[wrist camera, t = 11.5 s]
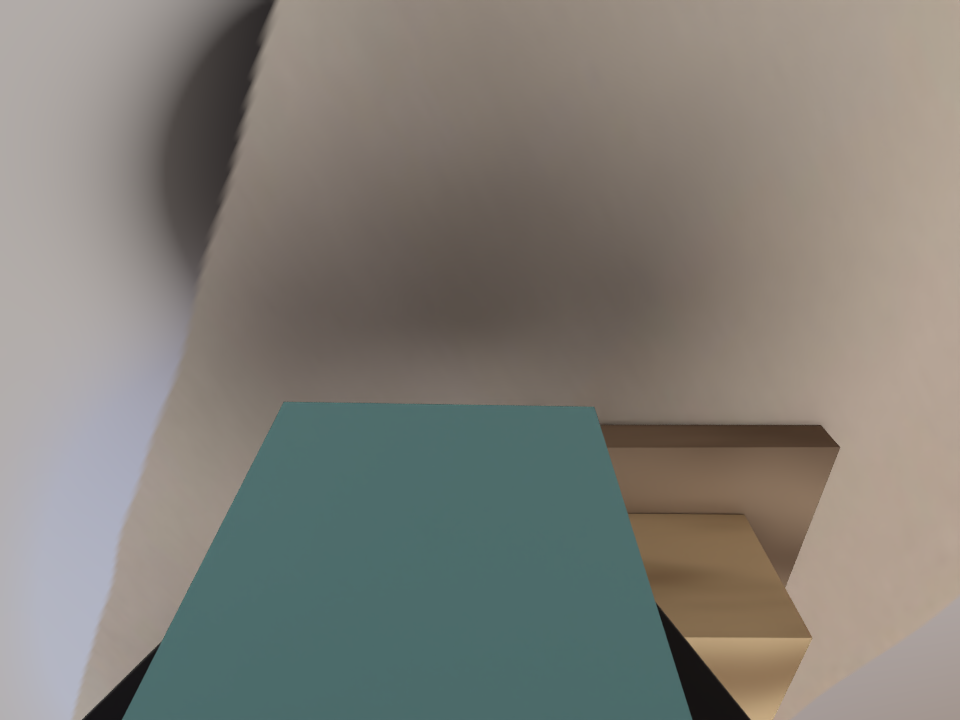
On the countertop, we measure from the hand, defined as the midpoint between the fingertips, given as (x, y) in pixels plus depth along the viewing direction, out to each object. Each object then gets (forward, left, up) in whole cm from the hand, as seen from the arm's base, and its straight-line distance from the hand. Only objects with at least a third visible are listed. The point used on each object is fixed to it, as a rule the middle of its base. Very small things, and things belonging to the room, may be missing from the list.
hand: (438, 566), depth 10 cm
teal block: (0, 0, -1) cm, 1 cm away
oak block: (-10, -8, -9) cm, 16 cm away
